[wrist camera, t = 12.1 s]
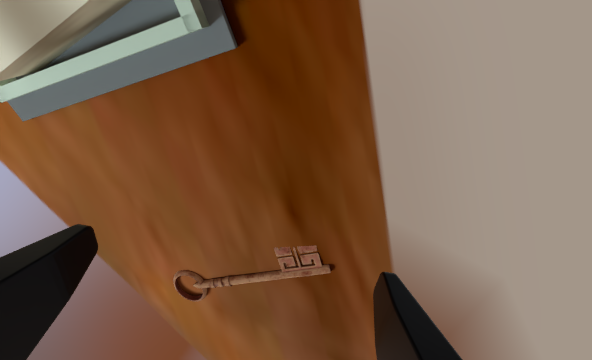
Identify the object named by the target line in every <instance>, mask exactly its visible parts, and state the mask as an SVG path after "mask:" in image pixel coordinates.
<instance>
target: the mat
mask: <svg viewBox="0 0 592 360" xmlns="http://www.w3.org/2000/svg"><path fill="white" fill-rule="evenodd" d="M199 1H200V4H201V6H202V9H203V11H204V14H205V16H206V19H207V21H208V24H209V27H206V28H204V29H201V30H198V31H195V32H193V33H190V34H187V35H185V36H182V37H179V38H177V39H174V40H171V41H168V42H166V43H163V44H160V45H158V46H155V47H152V48H150V49H147V50H144V51H141V52H139V53H136V54H133V55H131V56H128V57H125V58H123V59H120V60H117V61H114V62H112V63H109V64H106V65H104V66H101V67H98V68H96V69H93V70H90V71H87V72H85V73H82V74H79V75H77V76H74V77H71V78H69V79H66V80H63V81H60V82H58V83H55V84H52V85H50V86H47V87H44V88H42V89H39V90H36V91H33V92H31V93H28V94H25V95H23V96H20V97H17V98H14V99H11V100H8V101H7V102H8V103H9V104H10V105H11V107H12V108H13V109H14V110H15V112H16V113H17V114H18V116H19V117H20V118H21V119H22V121H26V120H29V119H31V118H34V117H37V116H40V115H43V114H46V113H49V112H52V111H55V110H58V109H60V108H63V107H66V106H69V105H72V104H75V103H78V102H81V101H84V100H87V99H89V98H92V97H95V96H98V95H101V94H104V93H107V92H110V91H113V90H116V89H118V88H121V87H124V86H127V85H130V84H133V83H136V82H139V81H142V80H145V79H147V78H150V77H153V76H156V75H159V74H162V73H165V72H168V71H171V70H174V69H177V68H179V67H182V66H185V65H188V64H191V63H194V62H197V61H200V60H203V59H206V58H208V57H211V56H214V55H217V54H220V53H223V52H226V51H229V50H232V49H235V48H237V47H238V46H237V43H236V41H235V38H234V35H233V33H232V30H231V27H230V25H229V22H228V19H227V17H226V14H225V11H224V9H223V6H222V3H221V1H220V0H199ZM179 17H181V15H180V13H179V11H178V8H177V6H176V4H175V2H174V0H132V1H130V2H129V3H128V4H126V5H125V6H124V7H122V8H121V9H120V10H118V11H117V12H116V13H115V14H113V15H112V16H111V17H109V18H108V19H107V20H105V21H104V22H103V23H101V24H100V25H99V26H98V27H96V28H95V29H94V30H92V31H91V32H90V33H88V34H87V35H86V36H84V37H83V38H82V39H81V40H79V41H78V42H77V43H75V44H74V45H73V46H71V47H70V48H69V49H67V50H66V51H65V52H64V53H62V54H61V55H60V56H58V57H57V58H56V59H54V60H53V61H52V62H50V63H49V64H48V65H47V66H45V67H44V68H43V69H41V70H40V71H42V70H44V69H47V68H50V67H52V66H55V65H57V64H60V63H63V62H65V61H68V60H70V59H73V58H75V57H78V56H81V55H83V54H86V53H88V52H91V51H93V50H96V49H99V48H101V47H104V46H106V45H109V44H112V43H114V42H117V41H119V40H122V39H124V38H127V37H130V36H132V35H135V34H137V33H140V32H142V31H145V30H148V29H150V28H153V27H155V26H158V25H160V24H163V23H166V22H168V21H171V20H173V19H176V18H179ZM38 72H39V71H38ZM34 73H37V72H34ZM34 73H30V74H26V75H22V76H18V77H15V78H16V79H17V80H19V79H21V78H24V77H26V76H29V75H32V74H34Z"/></svg>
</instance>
